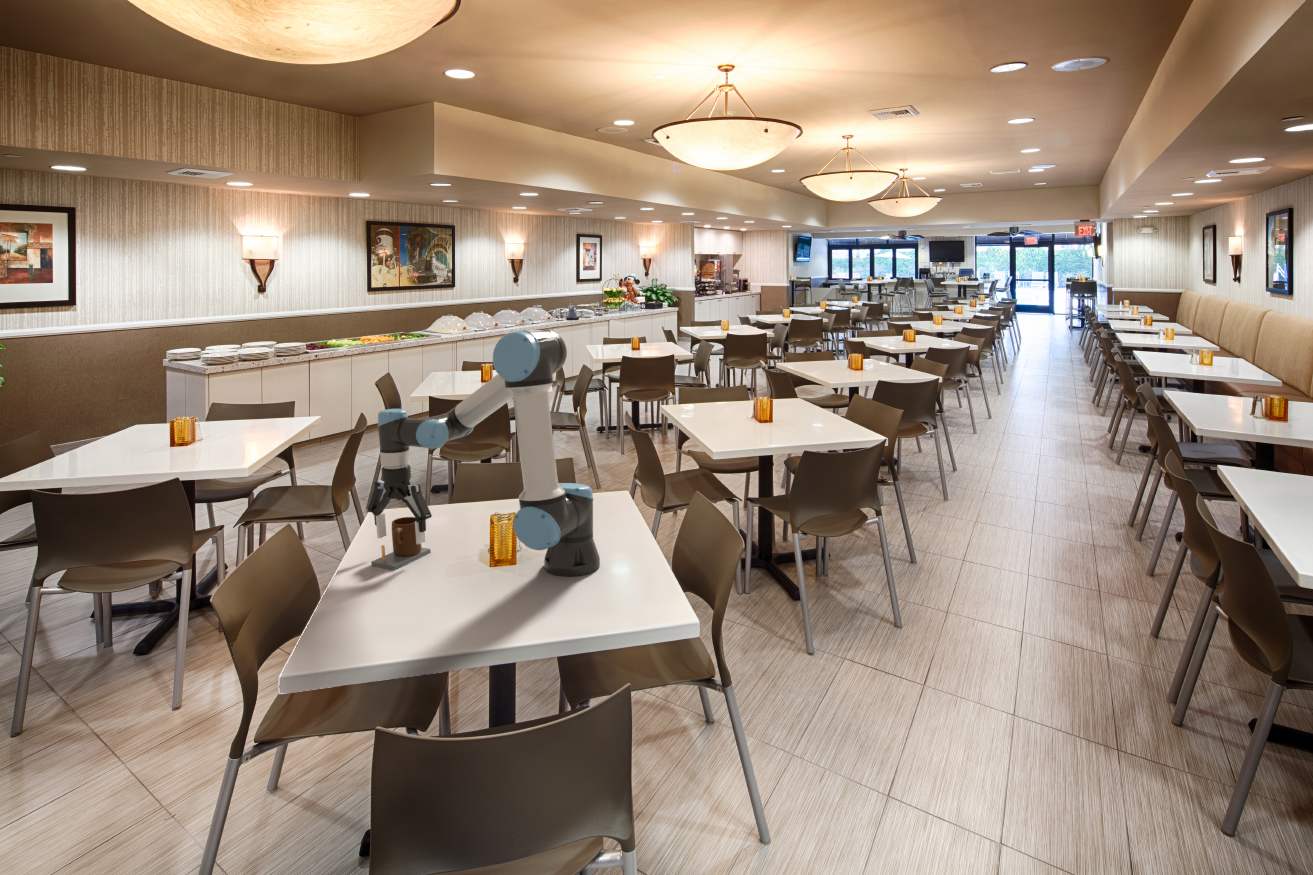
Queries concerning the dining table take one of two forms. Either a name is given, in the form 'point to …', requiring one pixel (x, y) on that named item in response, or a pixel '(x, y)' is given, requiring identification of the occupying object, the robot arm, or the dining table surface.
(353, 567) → the dining table surface
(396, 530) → the mug
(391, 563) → the grey pegged flat base
